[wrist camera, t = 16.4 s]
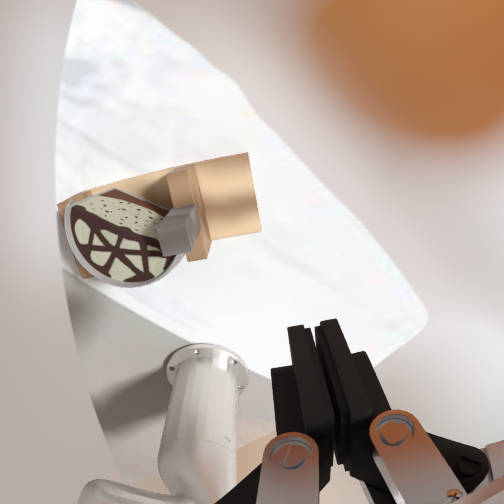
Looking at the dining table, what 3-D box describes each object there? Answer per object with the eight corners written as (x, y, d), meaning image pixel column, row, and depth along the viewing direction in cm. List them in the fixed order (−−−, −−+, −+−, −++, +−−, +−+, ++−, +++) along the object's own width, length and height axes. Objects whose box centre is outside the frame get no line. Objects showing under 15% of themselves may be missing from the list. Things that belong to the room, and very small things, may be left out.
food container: (92, 228, 36) (51, 262, 26) (104, 182, 33) (60, 205, 24) (181, 266, 38) (162, 312, 29) (199, 221, 36) (183, 257, 26)
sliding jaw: (213, 240, 36) (201, 287, 26) (193, 244, 36) (174, 291, 26) (196, 163, 33) (174, 181, 23) (175, 167, 33) (144, 188, 23)
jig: (261, 228, 37) (264, 248, 32) (101, 257, 38) (82, 278, 33) (247, 152, 34) (248, 158, 28) (81, 191, 35) (56, 204, 29)
